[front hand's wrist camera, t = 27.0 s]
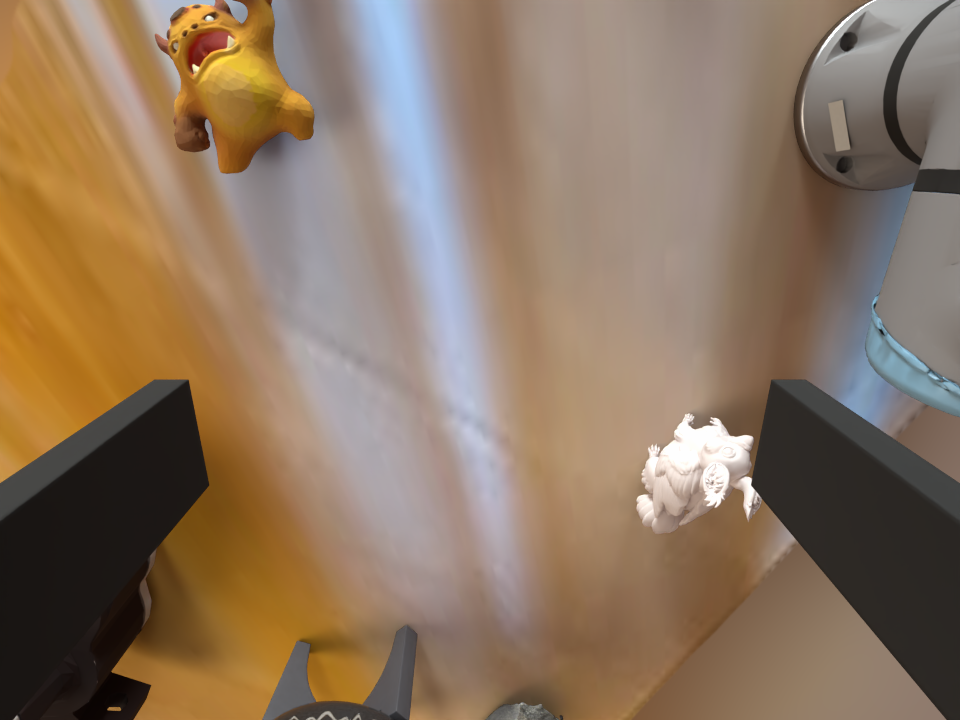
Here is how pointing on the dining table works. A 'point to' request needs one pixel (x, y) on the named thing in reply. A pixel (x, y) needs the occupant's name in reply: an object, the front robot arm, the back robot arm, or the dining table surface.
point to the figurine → (695, 476)
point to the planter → (380, 716)
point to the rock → (522, 713)
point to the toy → (231, 83)
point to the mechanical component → (99, 664)
